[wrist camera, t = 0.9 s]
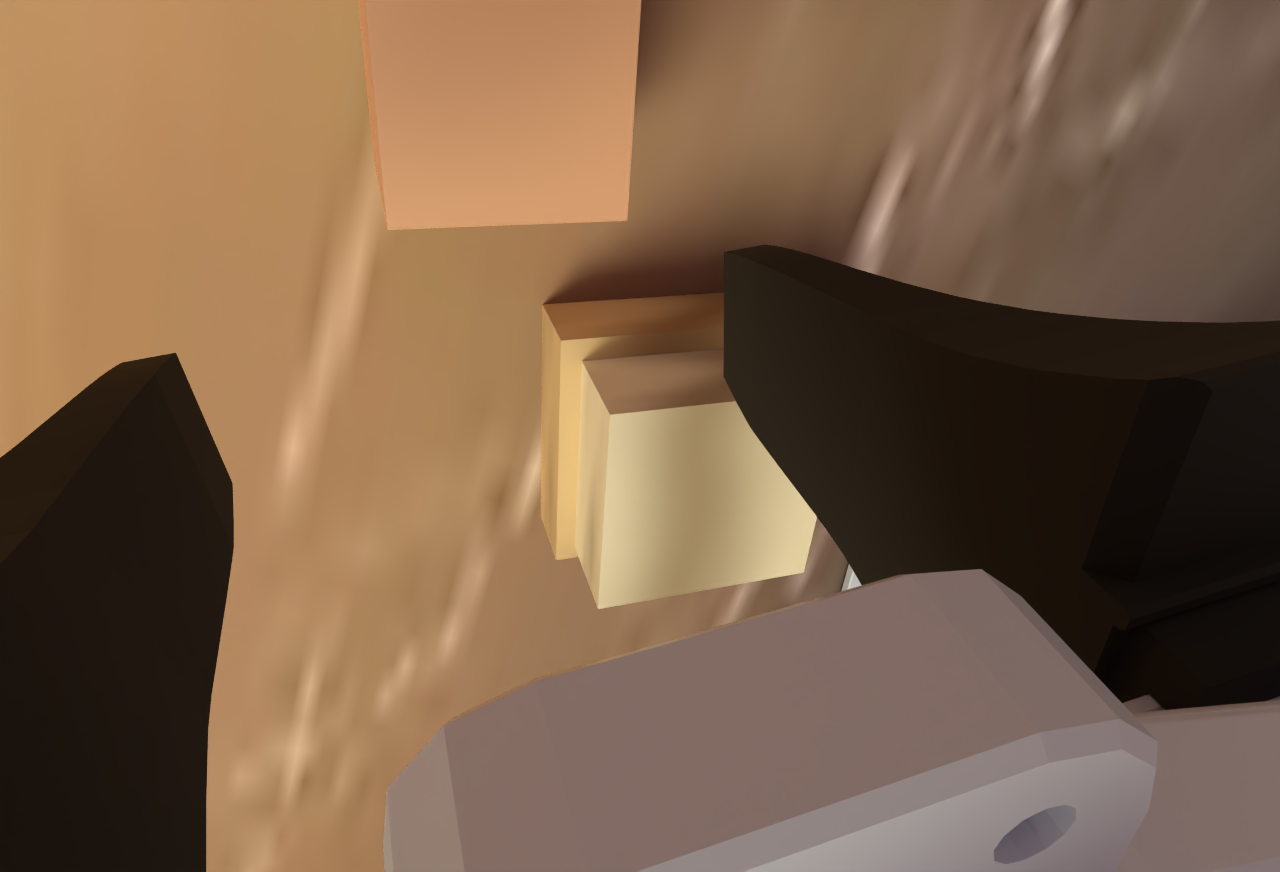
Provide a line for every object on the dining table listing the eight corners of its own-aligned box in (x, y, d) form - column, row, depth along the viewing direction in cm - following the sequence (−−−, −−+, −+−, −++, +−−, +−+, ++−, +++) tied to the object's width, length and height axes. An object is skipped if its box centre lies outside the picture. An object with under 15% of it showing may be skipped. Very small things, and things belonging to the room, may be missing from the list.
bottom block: (779, 281, 24) (820, 319, 22) (745, 477, 28) (777, 524, 26) (538, 297, 22) (560, 340, 20) (537, 506, 26) (556, 560, 24)
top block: (801, 341, 22) (847, 388, 20) (766, 517, 26) (803, 572, 24) (582, 360, 21) (610, 414, 19) (574, 546, 24) (597, 608, 22)
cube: (577, -66, 17) (644, -44, 14) (571, 154, 20) (627, 220, 16) (349, -81, 16) (358, -61, 13) (373, 157, 19) (387, 229, 15)
